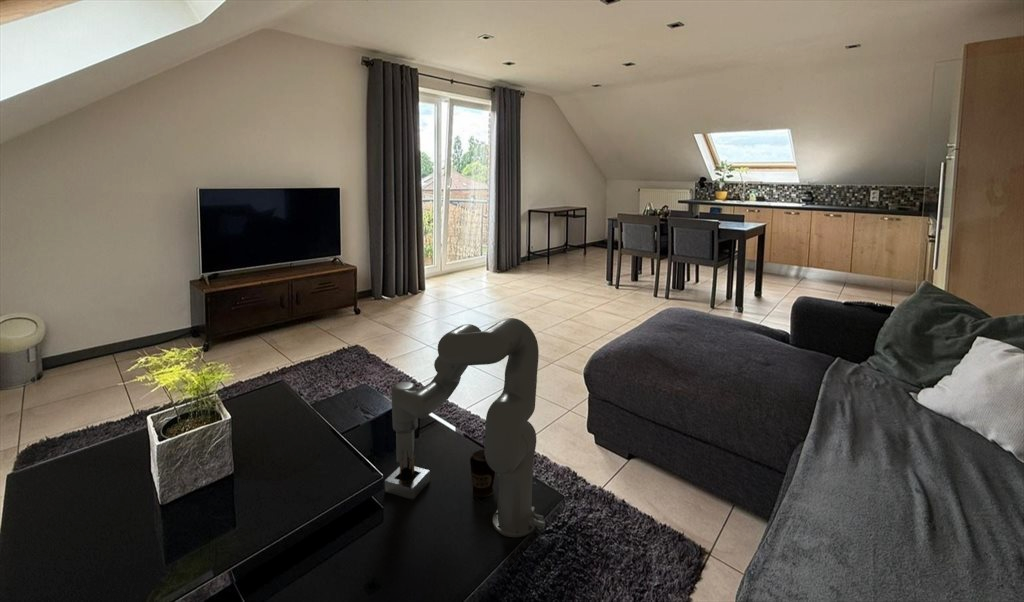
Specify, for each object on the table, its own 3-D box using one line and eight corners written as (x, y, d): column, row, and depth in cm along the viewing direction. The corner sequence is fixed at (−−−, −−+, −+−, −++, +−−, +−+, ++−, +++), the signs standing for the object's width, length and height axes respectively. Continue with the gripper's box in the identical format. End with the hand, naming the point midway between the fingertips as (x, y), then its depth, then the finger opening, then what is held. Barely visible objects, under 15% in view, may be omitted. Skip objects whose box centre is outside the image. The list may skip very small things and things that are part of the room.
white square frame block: (429, 481, 158) (429, 470, 157) (412, 499, 149) (412, 488, 148) (403, 473, 162) (403, 463, 161) (385, 491, 153) (384, 480, 152)
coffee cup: (492, 502, 149) (493, 465, 145) (466, 498, 150) (466, 461, 147) (499, 485, 157) (499, 449, 154) (474, 481, 159) (474, 445, 155)
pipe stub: (418, 478, 156) (417, 453, 154) (409, 487, 152) (409, 461, 149) (405, 474, 158) (404, 449, 156) (396, 483, 154) (395, 458, 151)
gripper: (394, 409, 157) (397, 459, 162) (390, 437, 141) (392, 492, 146) (418, 408, 158) (420, 458, 163) (416, 436, 142) (418, 490, 147)
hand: (407, 473), depth 154 cm, fingers closed on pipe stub, 4 cm apart
